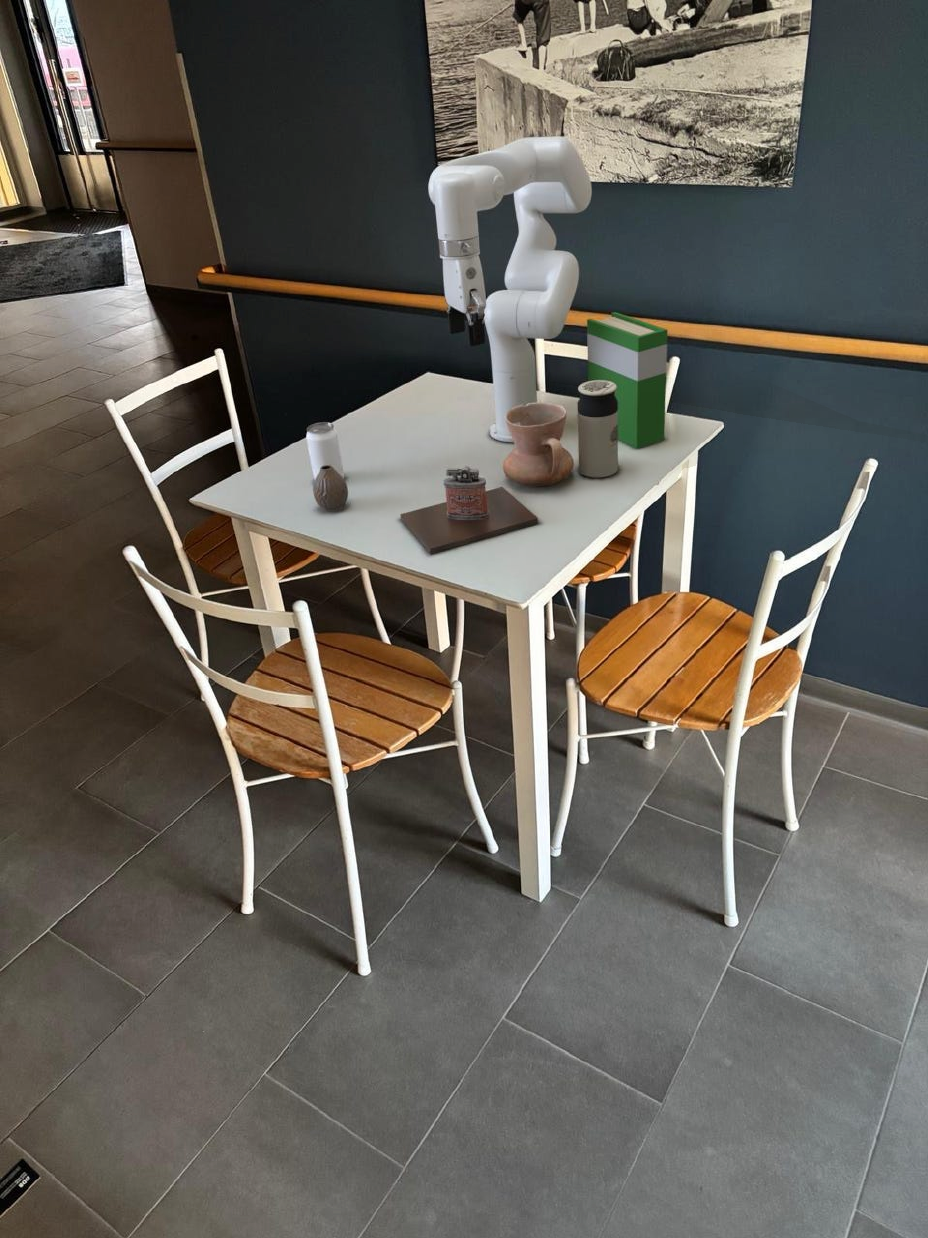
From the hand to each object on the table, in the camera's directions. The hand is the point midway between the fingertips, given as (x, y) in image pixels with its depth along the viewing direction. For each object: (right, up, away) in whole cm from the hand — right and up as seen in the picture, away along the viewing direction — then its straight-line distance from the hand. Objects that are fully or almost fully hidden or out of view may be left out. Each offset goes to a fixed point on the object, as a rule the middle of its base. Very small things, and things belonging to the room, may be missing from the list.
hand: (467, 338), depth 184 cm
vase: (-27, -32, +7) cm, 43 cm away
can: (-30, -25, +19) cm, 43 cm away
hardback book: (+35, -13, +26) cm, 46 cm away
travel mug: (+27, -24, +11) cm, 38 cm away
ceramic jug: (+15, -26, +10) cm, 32 cm away
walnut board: (0, -36, -3) cm, 36 cm away
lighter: (0, -35, -4) cm, 36 cm away
